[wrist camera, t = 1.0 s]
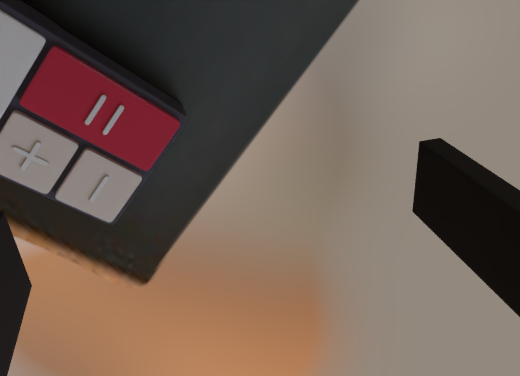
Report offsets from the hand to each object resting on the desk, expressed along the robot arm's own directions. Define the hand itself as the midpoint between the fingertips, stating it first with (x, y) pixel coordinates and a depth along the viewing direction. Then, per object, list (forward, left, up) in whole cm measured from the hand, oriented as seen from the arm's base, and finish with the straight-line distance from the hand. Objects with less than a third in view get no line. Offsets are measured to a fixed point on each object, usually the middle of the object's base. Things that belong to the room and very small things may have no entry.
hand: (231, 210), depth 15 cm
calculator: (+2, -9, -25) cm, 26 cm away
